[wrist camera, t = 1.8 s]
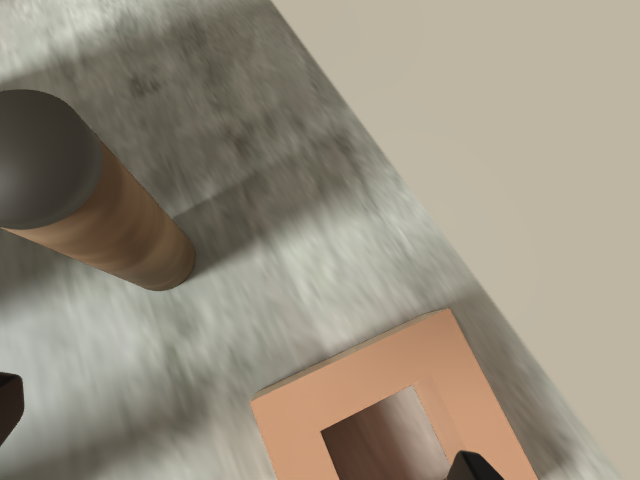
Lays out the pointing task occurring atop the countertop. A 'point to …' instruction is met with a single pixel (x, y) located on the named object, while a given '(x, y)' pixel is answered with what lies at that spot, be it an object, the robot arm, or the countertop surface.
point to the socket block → (381, 382)
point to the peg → (82, 196)
